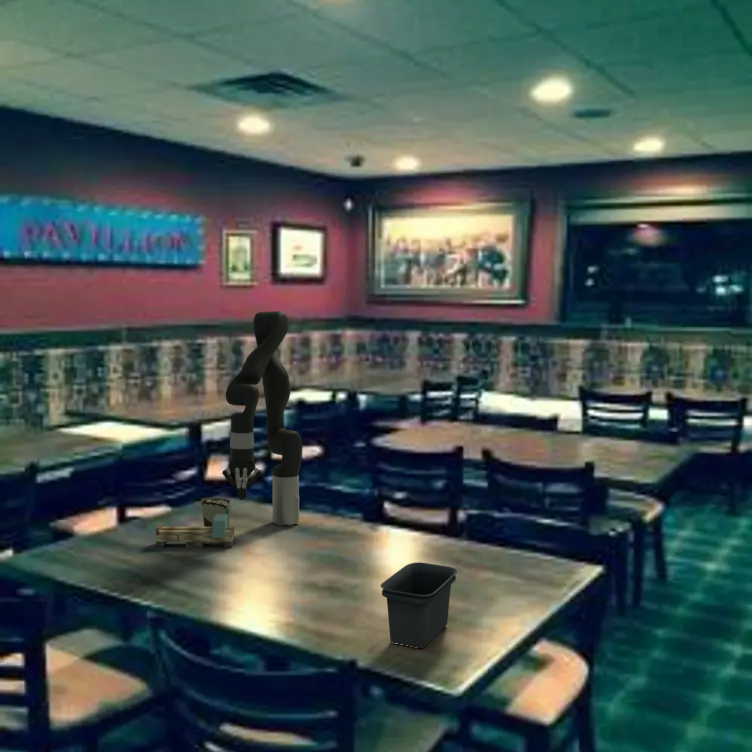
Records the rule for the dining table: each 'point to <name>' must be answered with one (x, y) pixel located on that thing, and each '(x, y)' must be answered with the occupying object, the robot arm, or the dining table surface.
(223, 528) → the rider
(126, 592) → the dining table surface
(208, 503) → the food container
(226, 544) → the beam
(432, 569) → the storage bin
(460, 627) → the dining table surface
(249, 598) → the dining table surface
